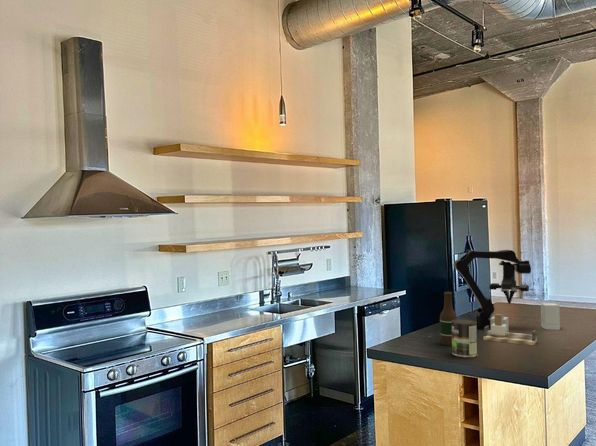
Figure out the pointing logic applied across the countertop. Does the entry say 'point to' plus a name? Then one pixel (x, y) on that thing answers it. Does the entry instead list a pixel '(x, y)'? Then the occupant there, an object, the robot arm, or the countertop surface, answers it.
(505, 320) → the box
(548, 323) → the supplement box
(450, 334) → the beer bottle
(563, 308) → the countertop surface
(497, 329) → the carriage
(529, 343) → the rail base
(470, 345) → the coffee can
